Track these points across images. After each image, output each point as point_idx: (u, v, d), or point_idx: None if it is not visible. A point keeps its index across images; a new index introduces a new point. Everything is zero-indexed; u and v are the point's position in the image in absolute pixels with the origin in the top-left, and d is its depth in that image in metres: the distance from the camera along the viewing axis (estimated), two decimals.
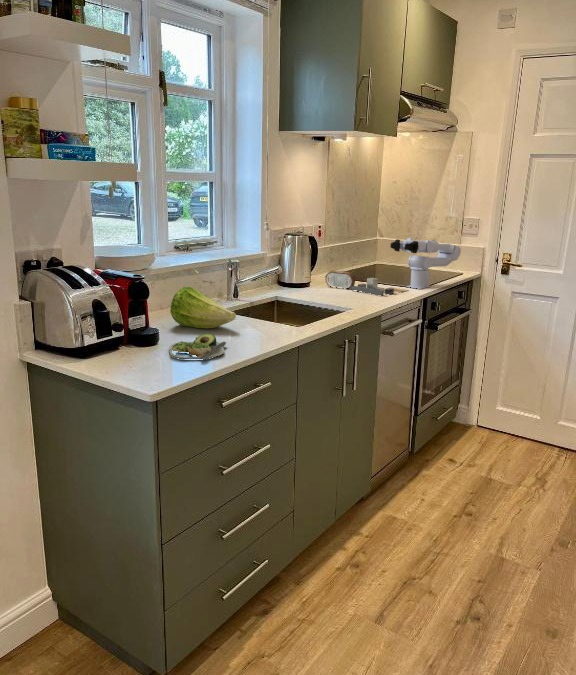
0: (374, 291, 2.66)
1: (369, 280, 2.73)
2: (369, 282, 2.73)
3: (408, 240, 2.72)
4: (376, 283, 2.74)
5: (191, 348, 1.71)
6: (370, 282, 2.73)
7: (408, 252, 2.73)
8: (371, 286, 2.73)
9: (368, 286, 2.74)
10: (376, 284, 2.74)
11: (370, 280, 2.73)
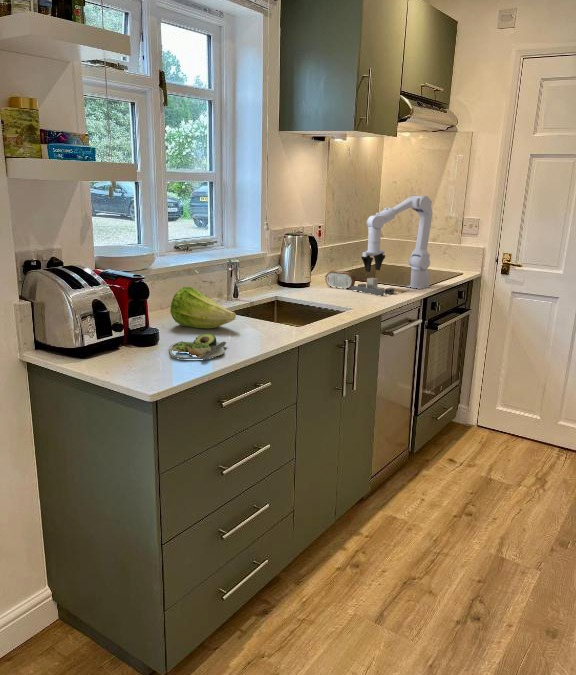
0: (374, 291, 2.66)
1: (369, 280, 2.73)
2: (369, 282, 2.73)
3: None
4: (376, 283, 2.74)
5: (191, 348, 1.71)
6: (370, 282, 2.73)
7: (377, 253, 2.69)
8: (371, 286, 2.73)
9: (368, 286, 2.74)
10: (376, 284, 2.74)
11: (370, 280, 2.73)
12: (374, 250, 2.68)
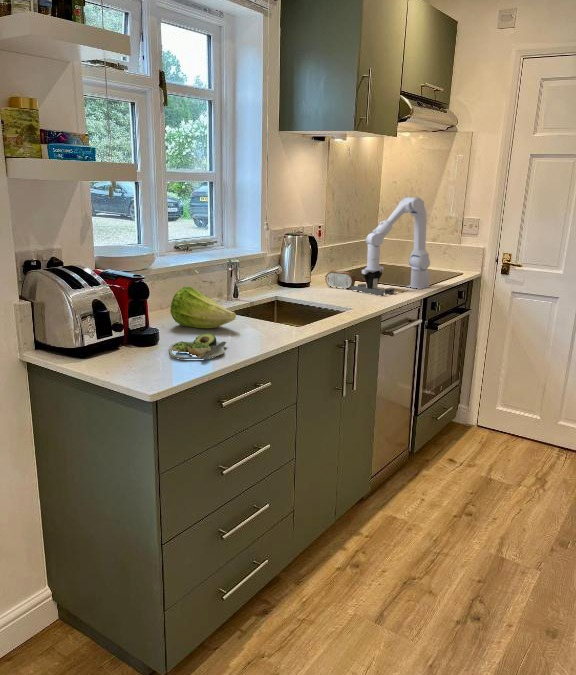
0: (374, 291, 2.66)
1: None
2: None
3: None
4: (376, 283, 2.74)
5: (191, 348, 1.71)
6: None
7: (377, 270, 2.71)
8: None
9: None
10: (376, 284, 2.74)
11: None
12: (373, 267, 2.70)
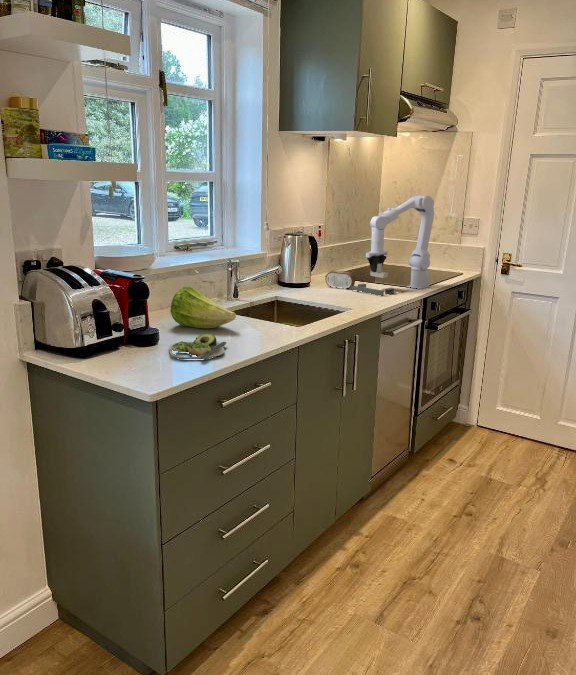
0: (374, 291, 2.66)
1: None
2: None
3: None
4: (380, 268, 2.72)
5: (191, 348, 1.71)
6: None
7: (381, 254, 2.69)
8: None
9: None
10: (380, 269, 2.73)
11: None
12: (377, 251, 2.68)
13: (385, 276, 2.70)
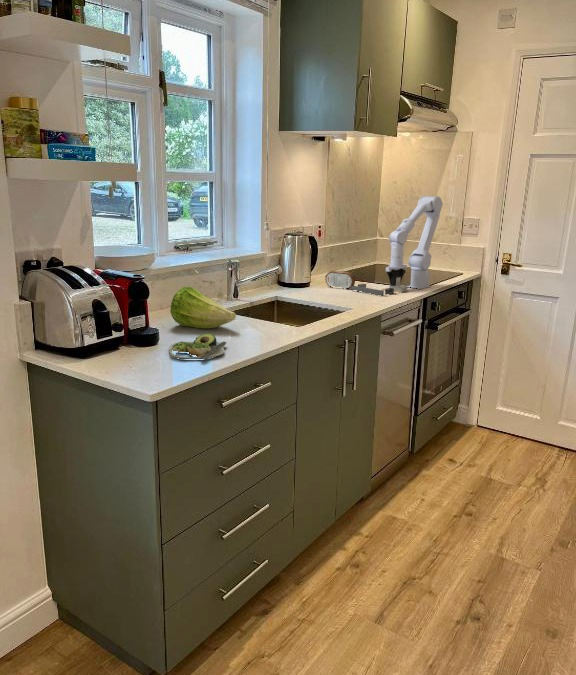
0: (374, 291, 2.66)
1: None
2: None
3: None
4: (399, 282, 2.75)
5: (191, 348, 1.71)
6: None
7: (400, 268, 2.72)
8: None
9: None
10: (399, 283, 2.76)
11: None
12: (397, 265, 2.71)
13: (404, 290, 2.73)
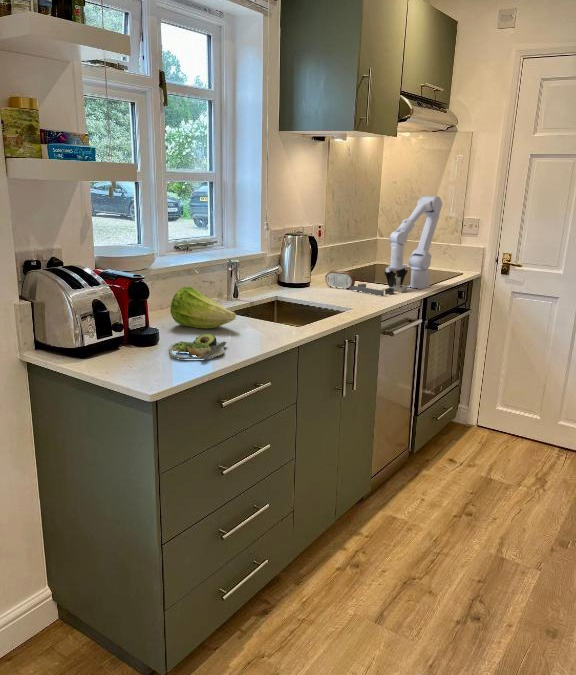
0: (374, 291, 2.66)
1: None
2: None
3: None
4: (399, 282, 2.75)
5: (191, 348, 1.71)
6: None
7: (400, 269, 2.72)
8: (394, 285, 2.75)
9: None
10: (399, 283, 2.76)
11: None
12: (397, 265, 2.71)
13: (404, 290, 2.73)
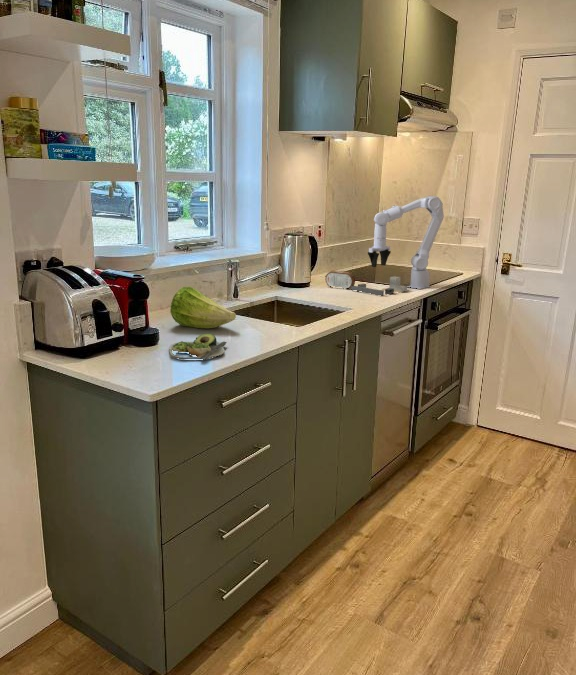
0: (374, 291, 2.66)
1: (392, 279, 2.75)
2: (392, 280, 2.75)
3: None
4: (399, 282, 2.75)
5: (191, 348, 1.71)
6: (393, 281, 2.75)
7: (383, 249, 2.78)
8: (394, 285, 2.75)
9: (391, 285, 2.76)
10: (399, 283, 2.76)
11: (393, 279, 2.74)
12: (380, 246, 2.77)
13: (404, 290, 2.73)
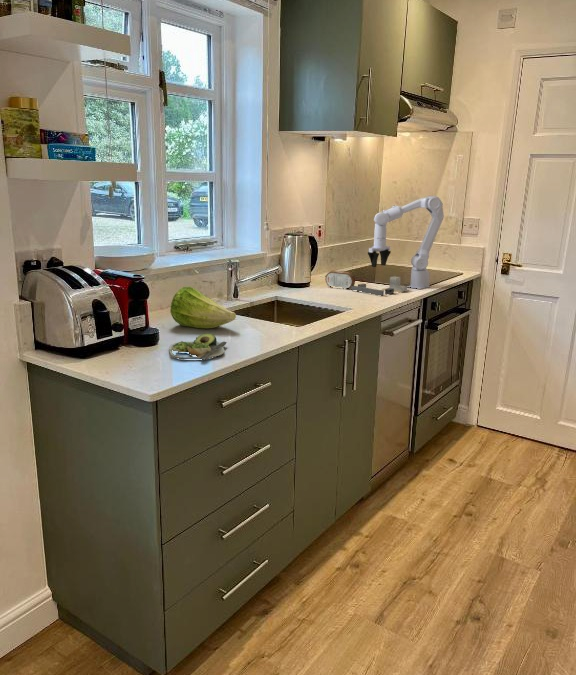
0: (374, 291, 2.66)
1: (392, 279, 2.75)
2: (392, 280, 2.75)
3: None
4: (399, 282, 2.75)
5: (191, 348, 1.71)
6: (393, 281, 2.75)
7: (383, 249, 2.78)
8: (394, 285, 2.75)
9: (391, 285, 2.76)
10: (399, 283, 2.76)
11: (393, 279, 2.74)
12: (380, 246, 2.77)
13: (404, 290, 2.73)
